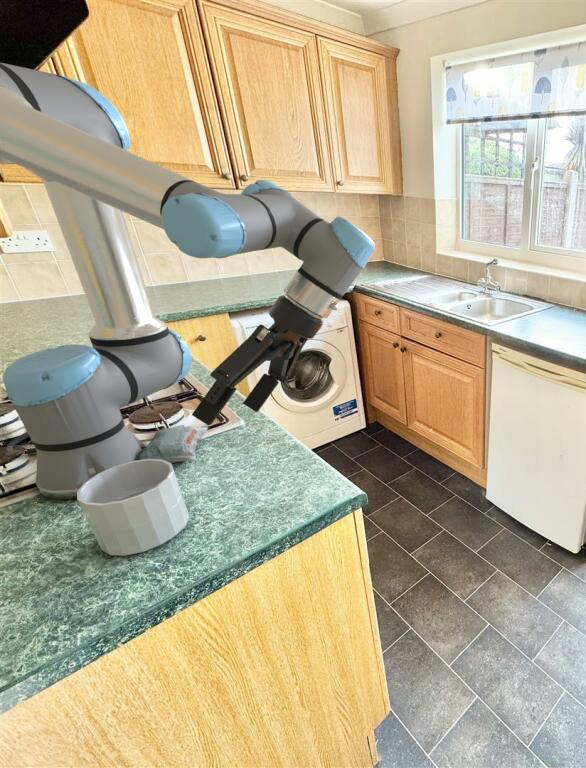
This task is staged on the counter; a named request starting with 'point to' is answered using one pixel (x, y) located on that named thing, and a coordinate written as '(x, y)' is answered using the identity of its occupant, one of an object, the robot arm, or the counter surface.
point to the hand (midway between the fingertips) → (228, 413)
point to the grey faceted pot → (134, 506)
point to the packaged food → (174, 444)
